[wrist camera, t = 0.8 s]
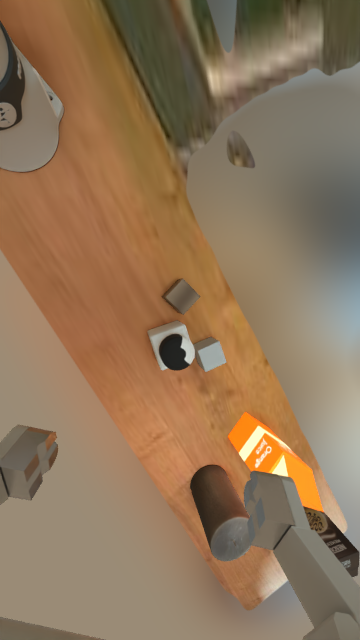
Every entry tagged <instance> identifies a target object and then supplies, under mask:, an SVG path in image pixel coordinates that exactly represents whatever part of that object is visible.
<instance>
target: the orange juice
mask: <svg viewBox="0 0 360 640" xmlns="http://www.w3.org/2000/svg"><path fill="white" fill-rule="evenodd" d="M228 438H229V439H230V441H231V442H232V444H233V445H234V447H235V448H236V449H237V451H238V452H239V454H240V456H241V457H242V459H243V460H244V461H245V463H246V464H247V466H248V467H249V469H250V470H251V471H253V470H255V471H261V472H267V473H273V474H278V475H282V476H287V477H291V478H292V479H293V480H294V482H295V484H296V487H297V490H298V493H299V496H300V499H301V502H302V505H303V506H305V507H308V508H312V509H315V510H319V511H322V512H323V509H322V505H321V502H320V498H319V495H318V491H317V488H316V484H315V481H314V477H313V474H312V470H311V469H310V468H309V467H308V466H307V465H306V464H305V463H304V462H303V461H302V460H301V459H300V458H299V457H298V456H297V455H296V454H295V453H294V452H293V451H292V450H291V449H290V448H289V447H288V446H287V445H286V444H285V443H283V442H282V441H281V440H280V439H279V438H278V437H277V436H276V435H275V434H274V433H273V432H272V431H271V430H270V429H269V428H268V427H266V426H265V425H263V424H262V423H261V422H259V421H258V420H256V419H255V418H253V417H252V416H250V415H249V414H247V413H246V412H245V413H244V414H243V416H242V417H241V418H240V420H239V421H238V423H237V424H236V425H235V427H234V428H233V430H232V431H231V432H230V434H229V435H228Z"/></svg>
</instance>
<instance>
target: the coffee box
mask: <svg viewBox="0 0 360 640" xmlns="http://www.w3.org/2000/svg"><path fill="white" fill-rule="evenodd" d="M303 508H304V511H305V514H306V517H307V520H308V522H309V525H310V528H311V530H315V531H316V532H317V534H318V535H319V536H320V537H321V539H322V540H323V541H324V542H325V544H326V545H327V546H328V548H329V549H330V550H331V551H332V553H333V554H334V555H335V556H336V558H337V559H338V560H339V561H340V563H341V564H342V565H343V566H344V568H345V569H346V570H347V572H348V573H349V574H350V575H351V577H354V576H357V575H358V567H359V551H358V550H357V549H356V548H355V547H354V546H353V545H352V544H351V542H350V541H349V540H348V539H347V538H346V537H345V536H344V534H343V533H342V532H341V531H340V530H339V529H338V528H337V526H336V525H335V524H334V523H333V522H332V521H331V520H330V518H329V517H328V516H327V515H326V514H325V513H324V512H322V511H319V510H315V509H312V508H308V507H305V506H303Z"/></svg>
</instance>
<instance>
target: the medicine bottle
mask: <svg viewBox="0 0 360 640" xmlns="http://www.w3.org/2000/svg"><path fill="white" fill-rule="evenodd" d="M147 333H148V335H149V338H150V341H151V344H152V347H153V350H154V353H155V356H156V359H157V361H158V364H159V366H160V369H161V370H165V369H167V368H169V369H171V370H182V369H185V368H186V367H188V366H189V365H190V364H191V363H192V361H193V359H194V358H195V349H194V346H193V344H192V343H191V341H190V338H189V335H188V332H187V329H186V326H185V325H184V324H183V323H181V322H179V321H178V320H176V321H173V322H171V323H168V324H165V325H162V326H159V327H156V328H153V329H150V330H148V331H147Z"/></svg>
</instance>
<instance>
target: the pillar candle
mask: <svg viewBox="0 0 360 640" xmlns="http://www.w3.org/2000/svg"><path fill="white" fill-rule="evenodd" d="M190 488H191V490H192V495H193V498H194V501H195V503H196V507H197V510H198V513H199V515H200V519H201V522H202V525H203V528H204V531H205V534H206V537H207V540H208V543H209V546H210V549H211V552H212V554H213V556H214V557H215V558H217V559H218V560H221V561H231V560H234V559H237V558H239V557H240V556H242V555H244V554H245V553H246V552H247V551H248V550H249V548H250V547H251V545H250V539H249V532H248V525H247V522H248V520H249V518H250V517H249V515H248V513H247V511H246V510H245V508H244V506H243V503H242V502H241V500H240V498H239V496H238V494H237V493H236V491H235V489H234V487H233V485H232V484H231V482H230V480H229V478H228V476H227V474H226V473H225V471H224V470H223V469H222V468H221V467H219V466H217V465H209V466H206V467H203V468H201V469H200V470H198V471H197V472H196V474H195V475H194V476H193V478H192V480H191V485H190Z"/></svg>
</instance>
